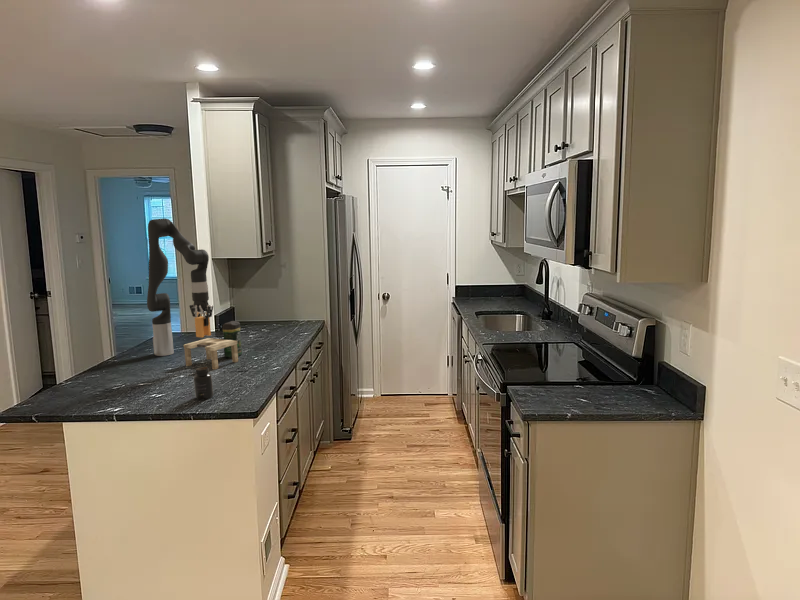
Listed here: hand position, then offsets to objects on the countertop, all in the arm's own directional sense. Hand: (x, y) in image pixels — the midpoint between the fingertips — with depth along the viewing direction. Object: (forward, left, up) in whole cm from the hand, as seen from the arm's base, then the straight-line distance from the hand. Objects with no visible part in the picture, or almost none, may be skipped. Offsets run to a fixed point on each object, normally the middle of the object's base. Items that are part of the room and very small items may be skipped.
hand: (202, 325), depth 262 cm
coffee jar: (-1, +20, -21) cm, 29 cm away
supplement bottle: (+37, -37, -21) cm, 56 cm away
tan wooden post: (0, 0, -5) cm, 5 cm away
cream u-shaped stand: (0, +4, -20) cm, 21 cm away
